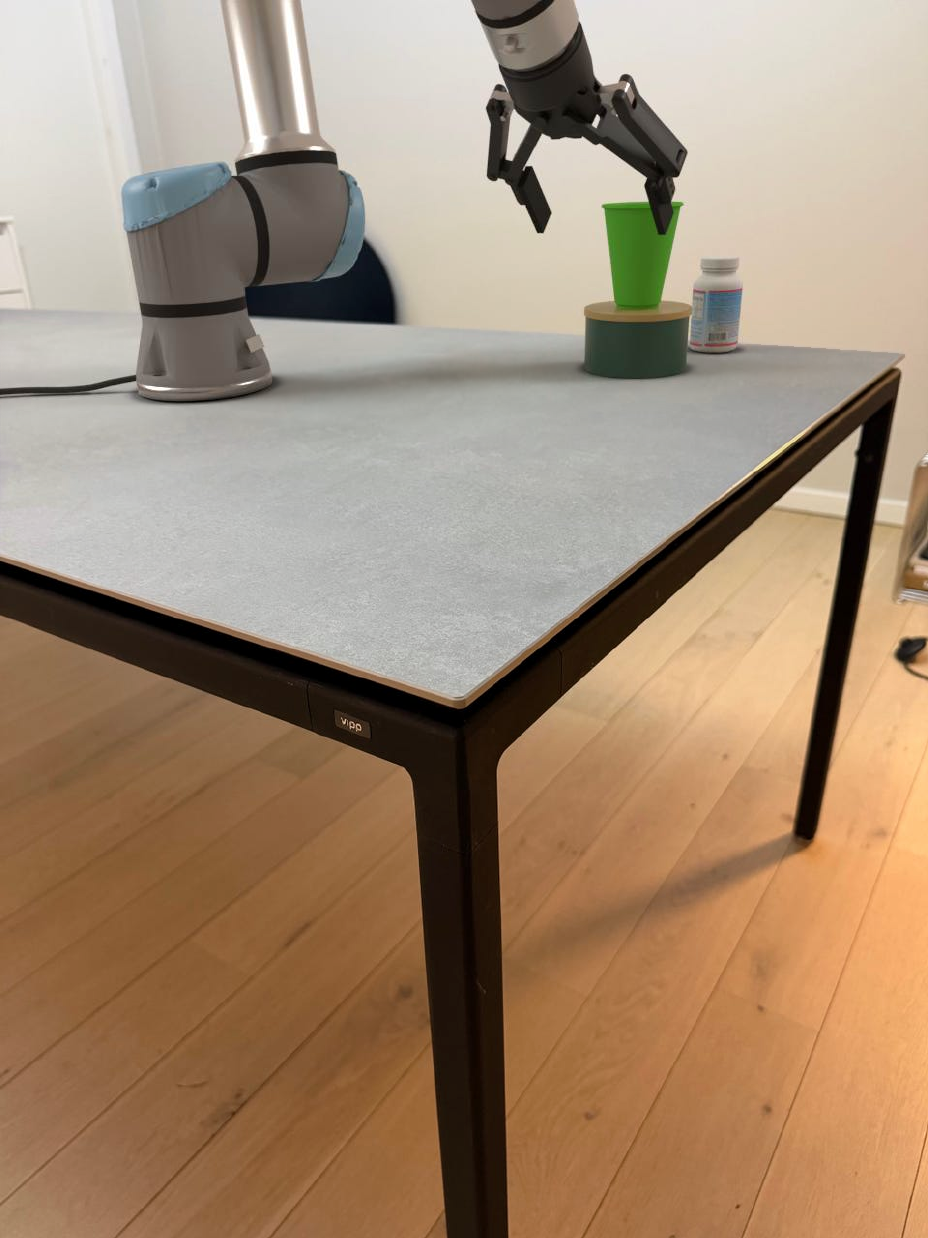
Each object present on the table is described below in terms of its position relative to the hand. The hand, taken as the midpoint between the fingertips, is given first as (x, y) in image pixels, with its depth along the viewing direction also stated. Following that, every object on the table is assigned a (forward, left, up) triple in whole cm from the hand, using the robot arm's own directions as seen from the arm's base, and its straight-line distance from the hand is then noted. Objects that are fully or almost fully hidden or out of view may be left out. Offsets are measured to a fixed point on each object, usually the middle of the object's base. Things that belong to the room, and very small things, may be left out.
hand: (603, 223), depth 95 cm
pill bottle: (+21, +14, -17) cm, 31 cm away
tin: (+7, +7, -17) cm, 19 cm away
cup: (+7, +7, -10) cm, 14 cm away
